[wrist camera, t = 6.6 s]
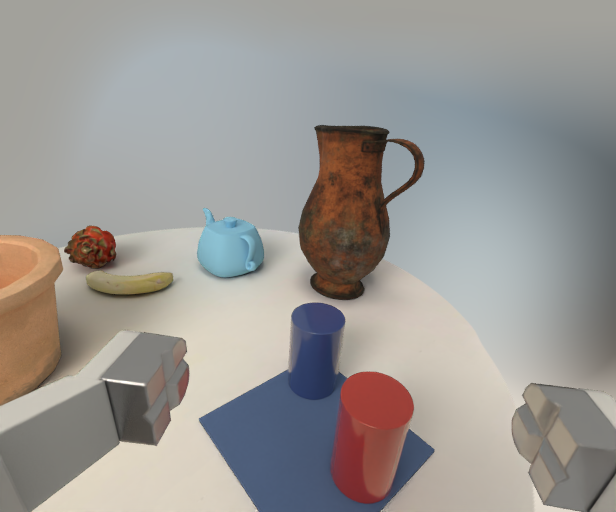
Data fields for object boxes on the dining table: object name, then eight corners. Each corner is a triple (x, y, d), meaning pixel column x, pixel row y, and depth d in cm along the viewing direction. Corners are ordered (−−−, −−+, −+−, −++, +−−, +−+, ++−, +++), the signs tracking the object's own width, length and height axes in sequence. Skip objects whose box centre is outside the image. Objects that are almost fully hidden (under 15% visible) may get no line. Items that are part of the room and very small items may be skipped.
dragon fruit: (99, 285, 66) (89, 268, 75) (133, 252, 69) (120, 240, 78) (59, 256, 61) (53, 242, 70) (97, 222, 64) (87, 213, 72)
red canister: (406, 475, 35) (428, 402, 30) (365, 519, 31) (383, 444, 27) (358, 430, 39) (371, 361, 35) (316, 465, 35) (325, 392, 31)
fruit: (156, 303, 59) (154, 287, 58) (73, 293, 60) (68, 276, 59) (175, 283, 66) (174, 268, 64) (99, 274, 67) (96, 259, 65)
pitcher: (330, 259, 80) (345, 120, 67) (414, 298, 67) (452, 134, 54) (276, 282, 69) (282, 120, 56) (365, 333, 56) (398, 138, 43)
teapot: (227, 201, 79) (280, 223, 69) (229, 243, 84) (278, 271, 73) (175, 210, 71) (225, 237, 60) (180, 257, 76) (227, 290, 65)
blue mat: (434, 452, 38) (434, 449, 37) (309, 588, 27) (310, 586, 26) (316, 355, 50) (316, 353, 50) (199, 420, 39) (198, 418, 39)
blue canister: (346, 384, 45) (356, 320, 41) (310, 408, 41) (316, 341, 37) (314, 356, 49) (319, 297, 45) (277, 377, 45) (280, 313, 41)
